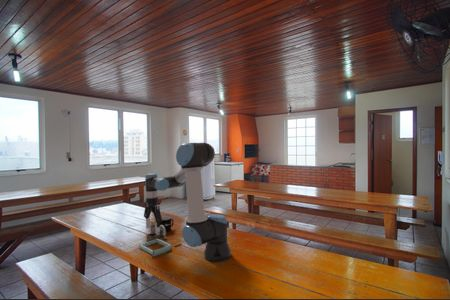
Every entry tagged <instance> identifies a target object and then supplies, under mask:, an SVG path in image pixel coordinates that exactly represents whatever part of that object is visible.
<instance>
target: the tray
mask: <svg viewBox="0 0 450 300" xmlns="http://www.w3.org/2000/svg"><path fill="white" fill-rule="evenodd" d="M156 243H157V244H159V245H162V246H163V247H160V248H158V249H155V250H153V249H151V248H149V247H148V246H151V245H153V244H156ZM138 246H139V249H140V250H143V251H144V252H146V253H148V254H150V256H151V257H153V258H154V257H156V256H159V255H162V254H163V253H167V252H170V251H172V249H173V248H172V244H170V243H168V242H166V241H164V240H163V239H161V240H159V239H155V240H152V241H149V242H148V241H146V242H143V243H140V244H139V245H138Z"/></svg>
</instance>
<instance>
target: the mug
mask: <svg viewBox="0 0 450 300" xmlns="http://www.w3.org/2000/svg"><path fill="white" fill-rule="evenodd" d="M161 218H162V221H160V225H163V226H164V227H165V229H166V233H168V232H170V231H171V228H172V227H173V226H174V219H173V218H172V217H171V216H169V215H168V216H166V215H165V216H161Z"/></svg>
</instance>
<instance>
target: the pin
mask: <svg viewBox="0 0 450 300" xmlns="http://www.w3.org/2000/svg"><path fill="white" fill-rule="evenodd" d="M155 222H156V220H152V221H151V220H150V233H151V236H154V235H155V232H156V225H155Z"/></svg>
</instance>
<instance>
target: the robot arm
mask: <svg viewBox="0 0 450 300" xmlns="http://www.w3.org/2000/svg"><path fill="white" fill-rule="evenodd" d="M215 152H216V151H215V149H214V147H213V146H212V145H211V144H209V143H208V142H186V143H181V144H180V145H179V146H178V148H177V150H176V152H175V159H176V160H175V161H176V162H177V164H178V165H179V166H180V167H181V169H180V170H179V171H178V172H177V173H175V175H173V176H172V175H171V176H166V177H158V174H157V173H147V174H145V177H144V178H145V181H144V182H145V197H146V198H145V203H144V205H145V206H144V212H143V217H144V218H145V229H151V227H150V222H151V214H153V216H154V221H155V232H156V233H158V232H160V221H162V218H161V217H162V214H161V209H160V205H157V204H158V202H159V197H158V196H159V194H158V193H159V191H160V192H161V191H166V190H167V189H168V190H169V189H174V188H180V187H184V186H185V188H186V189H185V191H186V203H187V213H188V217H187V218H186V220H185V225H184V226H183V227H182V229H181V234H182V238H183V241H184V242H185V243H186V244H187V246H189V247H190V248H197V247H200V246H202V245H204V244H206V245H205V250H204V252H203V257H204V259H205V260H208V261H210V262H224V261H226V260H228V259H230V258H231V256H232V253H231V251H232V250H231V249H230V245H229V243H228V220H227V217H226V216H225V215H223V214H219V213H217V214H216V213H211V214H207V215H206V214H205V203H204V202H205V201H204V193H203V192H204V191H203V180H202V170H203V168H204V167H207V166H208V165H210V164H211V163H212V162H213V161H214V159H215V155H216V153H215Z"/></svg>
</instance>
